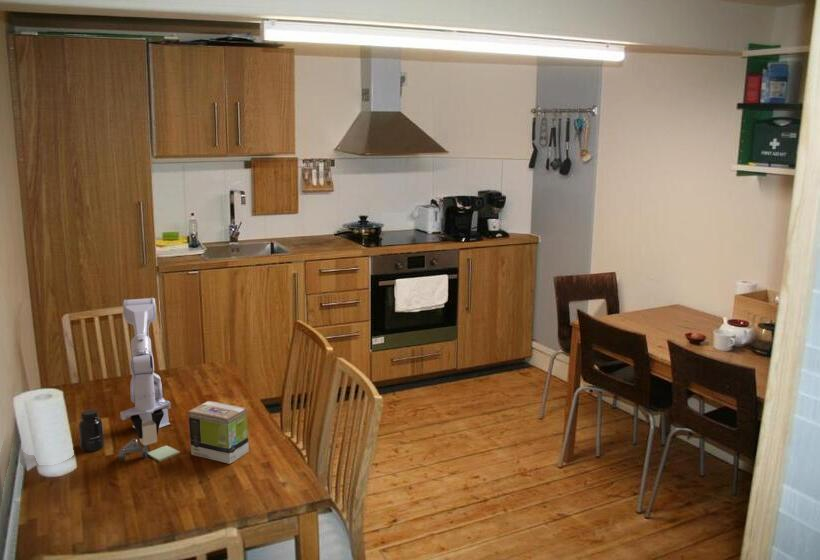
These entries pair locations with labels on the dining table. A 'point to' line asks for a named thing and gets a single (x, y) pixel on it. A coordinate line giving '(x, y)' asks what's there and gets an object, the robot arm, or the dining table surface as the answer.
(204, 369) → the dining table surface
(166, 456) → the pad
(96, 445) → the supplement bottle
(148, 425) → the block
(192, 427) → the tea box
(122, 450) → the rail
